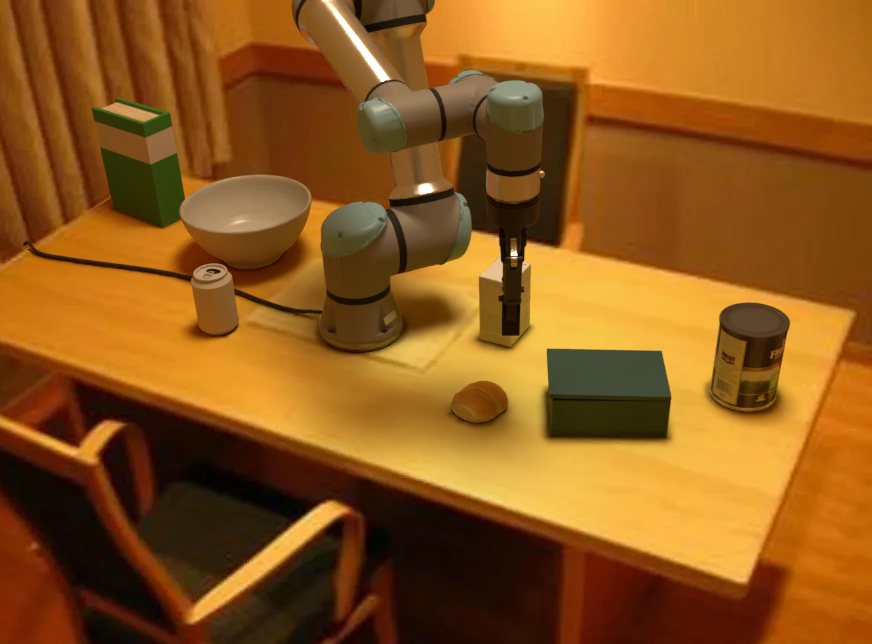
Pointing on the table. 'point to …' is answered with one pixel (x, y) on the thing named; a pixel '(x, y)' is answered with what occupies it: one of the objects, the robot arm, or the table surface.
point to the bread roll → (479, 401)
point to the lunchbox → (608, 417)
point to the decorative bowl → (247, 218)
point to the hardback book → (140, 161)
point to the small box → (500, 303)
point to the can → (214, 299)
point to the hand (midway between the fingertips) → (510, 332)
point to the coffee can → (748, 356)
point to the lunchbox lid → (607, 374)
